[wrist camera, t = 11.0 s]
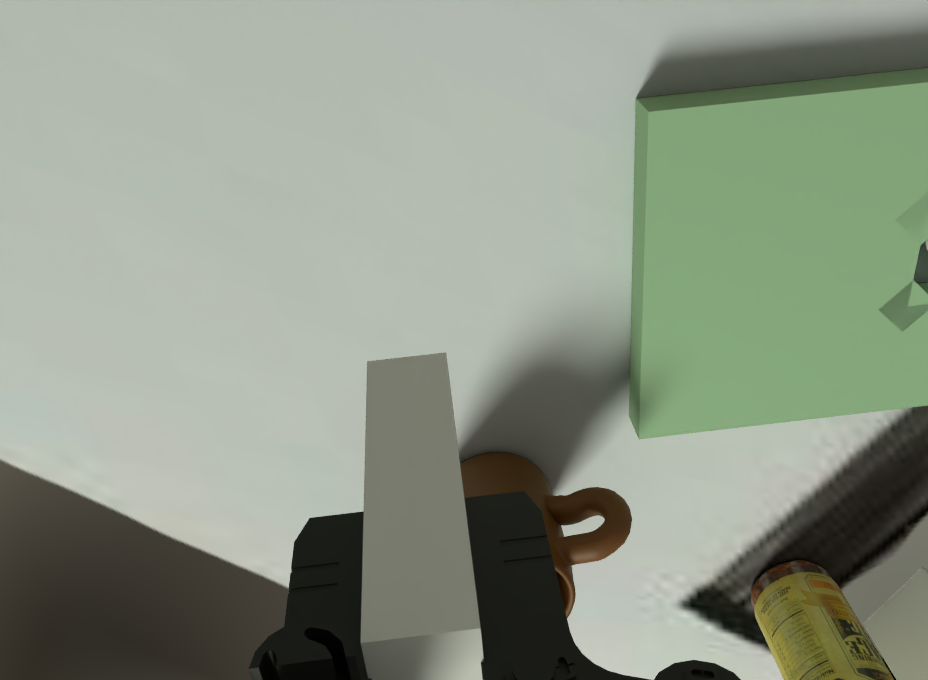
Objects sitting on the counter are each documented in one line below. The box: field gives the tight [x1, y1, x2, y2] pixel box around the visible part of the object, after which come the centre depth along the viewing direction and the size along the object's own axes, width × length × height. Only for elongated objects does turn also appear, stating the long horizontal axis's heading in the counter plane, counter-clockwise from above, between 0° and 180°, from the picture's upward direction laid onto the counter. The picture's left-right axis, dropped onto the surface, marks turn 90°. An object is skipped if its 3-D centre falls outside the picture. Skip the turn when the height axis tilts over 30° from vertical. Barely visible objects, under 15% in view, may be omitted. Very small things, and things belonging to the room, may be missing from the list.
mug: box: [460, 453, 632, 618], centre depth 52 cm, size 12×8×9 cm, turn 123°
